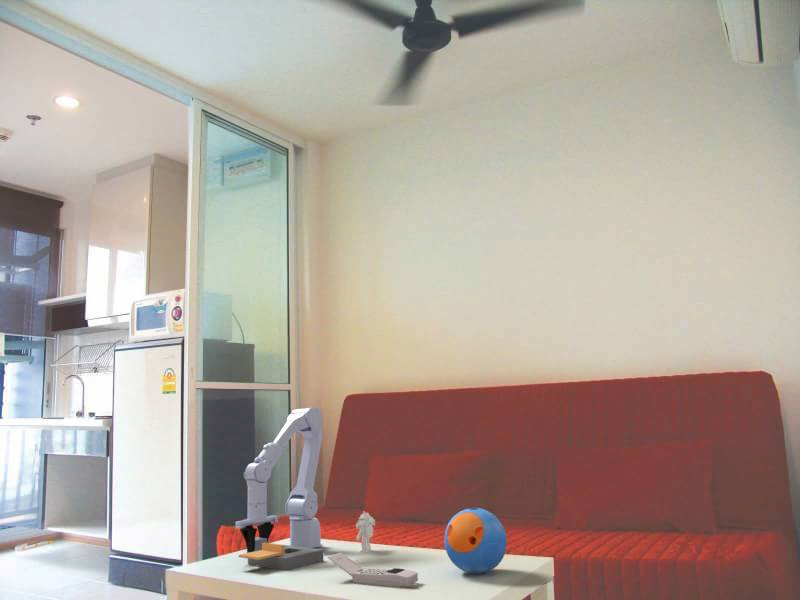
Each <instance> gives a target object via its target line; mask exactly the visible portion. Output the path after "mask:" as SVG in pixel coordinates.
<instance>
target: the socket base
mask: <svg viewBox="0 0 800 600" xmlns="http://www.w3.org/2000/svg"><path fill="white" fill-rule="evenodd" d="M284 545H285V554H283V555H278V556H274V557H270V558H265V559H261V560H255V559H248V558H247V565H248V564H249V565H250V566H255V565H258V566H257V567H261V566H264V567H263V568H268V567H270V568H269V569H275V570H284V571H288V570H293V569H296V567H297V568H300V567H305V566H308V565H312V564H315V563H320V562H324V549H321V548H305V547H297V546H290V545H286V544H284Z"/></svg>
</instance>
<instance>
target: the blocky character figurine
mask: <svg viewBox="0 0 800 600" xmlns="http://www.w3.org/2000/svg"><path fill="white" fill-rule="evenodd" d="M373 526H374V527H375V526H376V519H374V517H372V515H370V514H369V512H366V511H364V510H363V512H362V514H360V516H359V517H358V520H357V522H356V523H355V529H357V530H359V531H358V534H357V536H356V537H355V540H356V542H357V543H358V542H359V541H360V539H361V549H359V553H368V552H369V551H372V547H371V543H370V538H372V537H373V536H374V534H373V533H374V527H373Z"/></svg>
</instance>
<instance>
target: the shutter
mask: <svg viewBox="0 0 800 600" xmlns="http://www.w3.org/2000/svg"><path fill="white" fill-rule="evenodd" d="M285 545H286V544H282V543H281V544H280V543H270V542H268V543H262V550H259V551H254V552H250V553H247V552H245V553H241V554H238V558H242V559H247V560H248V559H255V560H261V559H265V558H270V557H274V556H278V555H283V554H285Z"/></svg>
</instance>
